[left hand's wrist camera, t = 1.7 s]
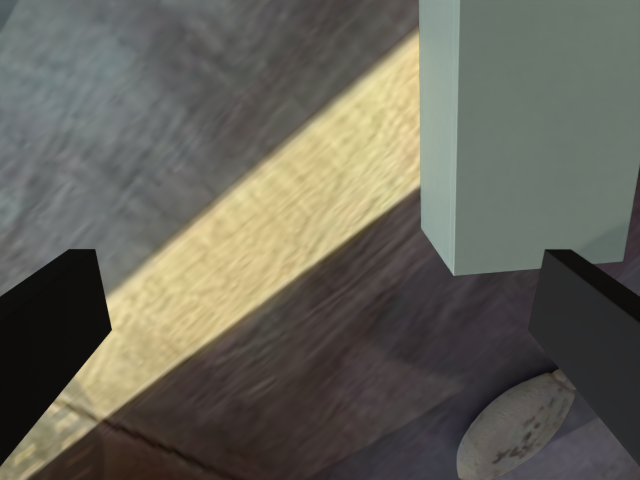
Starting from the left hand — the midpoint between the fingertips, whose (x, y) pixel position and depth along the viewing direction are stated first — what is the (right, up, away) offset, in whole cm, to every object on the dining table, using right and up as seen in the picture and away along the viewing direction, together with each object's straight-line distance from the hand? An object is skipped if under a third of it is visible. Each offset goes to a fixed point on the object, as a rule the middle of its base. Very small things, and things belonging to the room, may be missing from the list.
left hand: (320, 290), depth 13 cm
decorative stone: (+18, -15, +29) cm, 38 cm away
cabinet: (+13, +11, +19) cm, 25 cm away
